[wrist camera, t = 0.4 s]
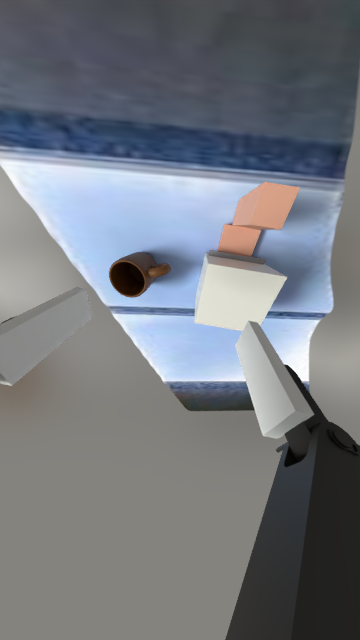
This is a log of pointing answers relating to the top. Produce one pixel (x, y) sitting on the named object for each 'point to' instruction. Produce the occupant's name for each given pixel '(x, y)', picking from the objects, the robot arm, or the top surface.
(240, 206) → the orange l-shaped bracket
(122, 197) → the top surface
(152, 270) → the mug
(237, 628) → the robot arm
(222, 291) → the off-white block
